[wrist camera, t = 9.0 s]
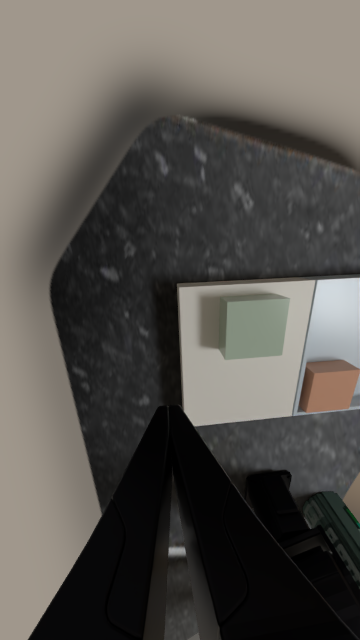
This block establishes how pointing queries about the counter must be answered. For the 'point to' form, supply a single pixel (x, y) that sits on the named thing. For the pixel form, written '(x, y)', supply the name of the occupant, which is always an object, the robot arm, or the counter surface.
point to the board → (238, 374)
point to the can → (337, 528)
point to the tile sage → (252, 325)
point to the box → (332, 329)
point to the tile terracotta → (328, 386)
